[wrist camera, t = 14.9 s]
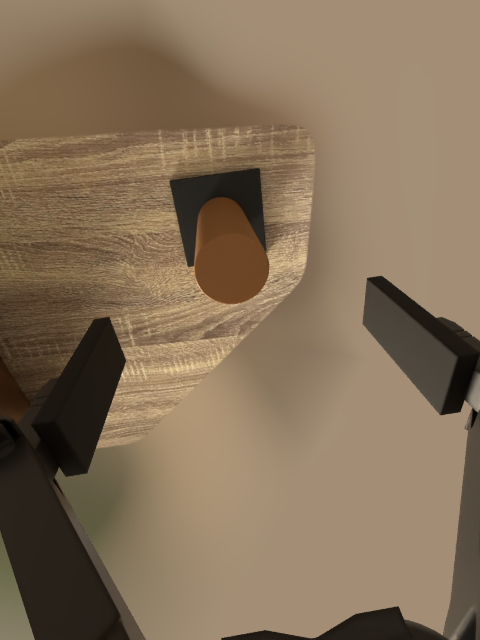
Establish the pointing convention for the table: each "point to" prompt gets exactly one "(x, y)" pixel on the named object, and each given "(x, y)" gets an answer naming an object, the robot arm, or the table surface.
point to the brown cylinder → (228, 253)
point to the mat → (204, 188)
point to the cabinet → (11, 395)
